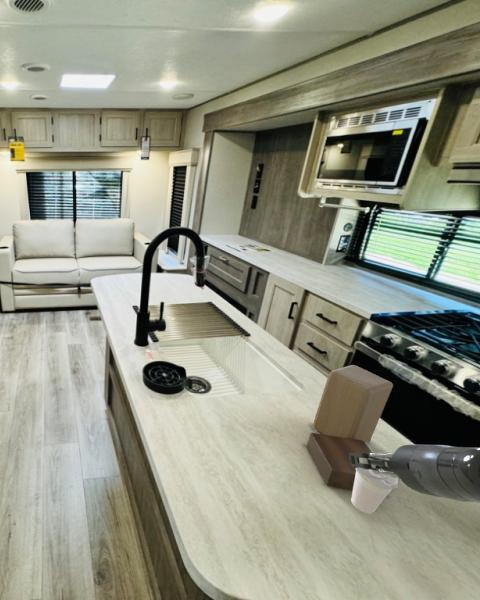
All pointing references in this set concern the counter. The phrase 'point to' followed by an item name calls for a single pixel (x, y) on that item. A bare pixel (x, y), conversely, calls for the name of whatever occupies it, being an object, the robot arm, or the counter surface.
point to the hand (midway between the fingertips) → (372, 464)
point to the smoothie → (371, 489)
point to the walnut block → (335, 458)
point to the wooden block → (351, 403)
